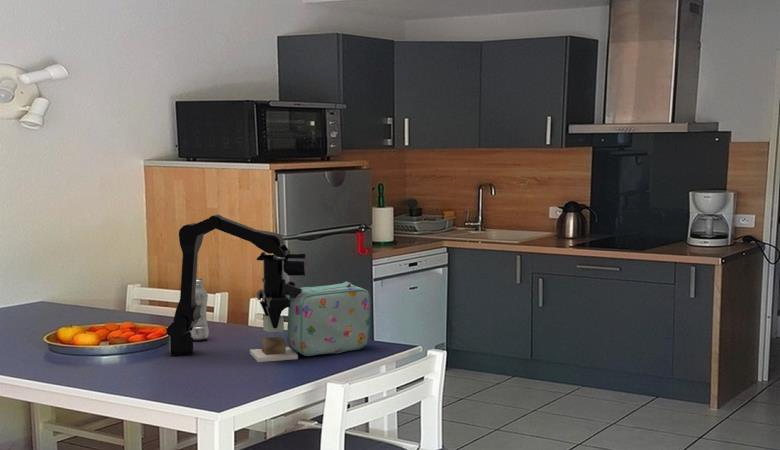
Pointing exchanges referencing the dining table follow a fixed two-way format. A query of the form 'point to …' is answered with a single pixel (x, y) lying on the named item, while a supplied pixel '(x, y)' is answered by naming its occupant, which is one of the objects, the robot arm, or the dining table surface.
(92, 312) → the dining table surface
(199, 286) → the plastic bottle
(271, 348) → the walnut block
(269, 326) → the sage block
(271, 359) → the base board
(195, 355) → the dining table surface
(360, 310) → the lunch box
